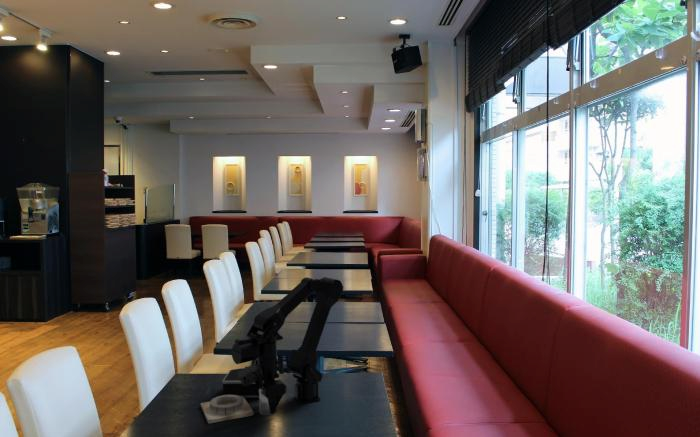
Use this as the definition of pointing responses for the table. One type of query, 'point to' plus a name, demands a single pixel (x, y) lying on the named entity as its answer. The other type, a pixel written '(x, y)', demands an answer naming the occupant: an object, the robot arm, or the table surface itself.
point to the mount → (226, 408)
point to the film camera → (239, 385)
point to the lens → (263, 404)
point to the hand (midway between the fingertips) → (267, 407)
